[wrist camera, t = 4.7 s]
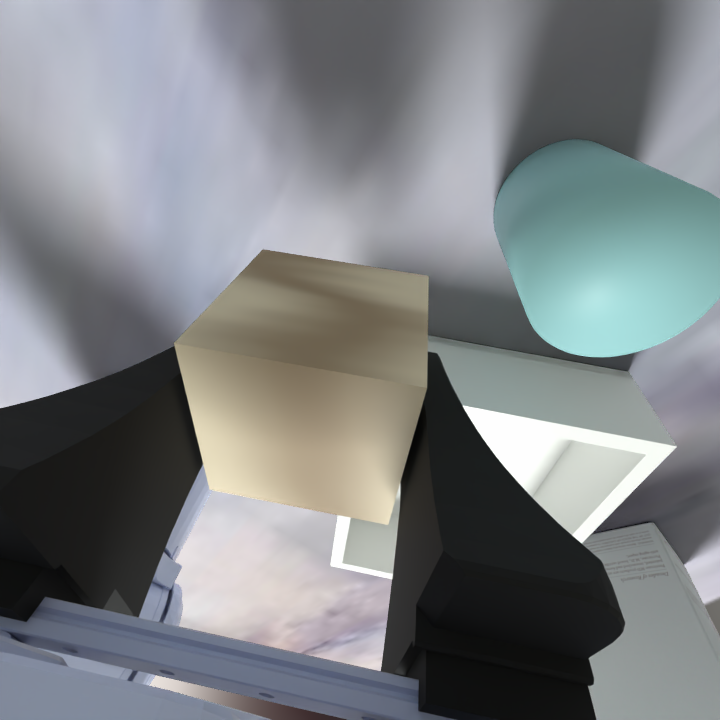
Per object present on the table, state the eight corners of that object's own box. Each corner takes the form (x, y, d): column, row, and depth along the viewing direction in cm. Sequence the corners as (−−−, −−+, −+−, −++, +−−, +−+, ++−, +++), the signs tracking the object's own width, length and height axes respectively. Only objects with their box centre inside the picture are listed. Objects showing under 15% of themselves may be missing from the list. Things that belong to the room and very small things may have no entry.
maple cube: (270, 375, 14) (209, 489, 11) (262, 249, 11) (173, 343, 7) (400, 399, 14) (387, 525, 10) (428, 275, 11) (426, 388, 7)
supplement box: (548, 541, 30) (605, 772, 20) (654, 518, 27) (786, 786, 17) (586, 582, 33) (652, 803, 23) (686, 567, 29) (815, 820, 19)
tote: (343, 503, 31) (330, 565, 27) (372, 324, 20) (357, 385, 17) (508, 537, 31) (519, 606, 27) (628, 371, 20) (676, 446, 16)
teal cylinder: (478, 255, 17) (498, 340, 12) (519, 129, 14) (572, 166, 9) (588, 274, 17) (662, 370, 12) (654, 150, 14) (795, 201, 9)
